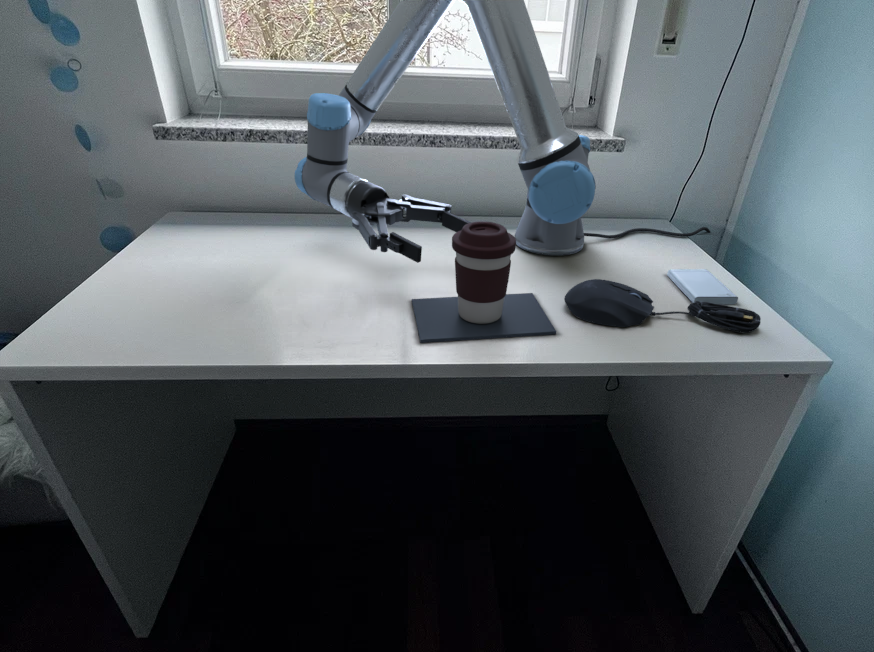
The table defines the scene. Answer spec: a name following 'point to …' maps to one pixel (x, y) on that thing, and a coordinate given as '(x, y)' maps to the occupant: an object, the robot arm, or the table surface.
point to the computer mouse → (646, 307)
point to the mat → (446, 324)
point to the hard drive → (702, 286)
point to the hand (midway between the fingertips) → (447, 242)
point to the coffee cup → (482, 270)
